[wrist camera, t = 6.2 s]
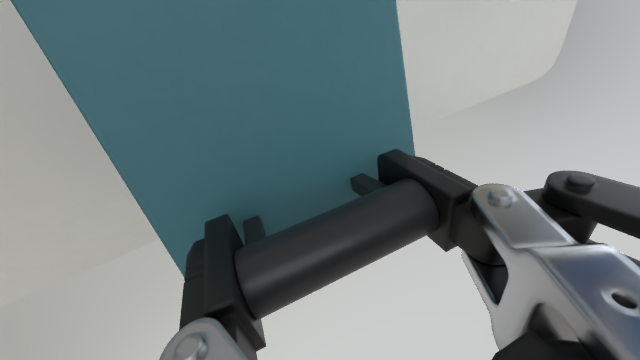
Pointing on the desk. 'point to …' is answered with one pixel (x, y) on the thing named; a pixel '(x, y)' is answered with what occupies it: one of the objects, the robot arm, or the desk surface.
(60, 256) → the desk surface
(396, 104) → the freezer lid
